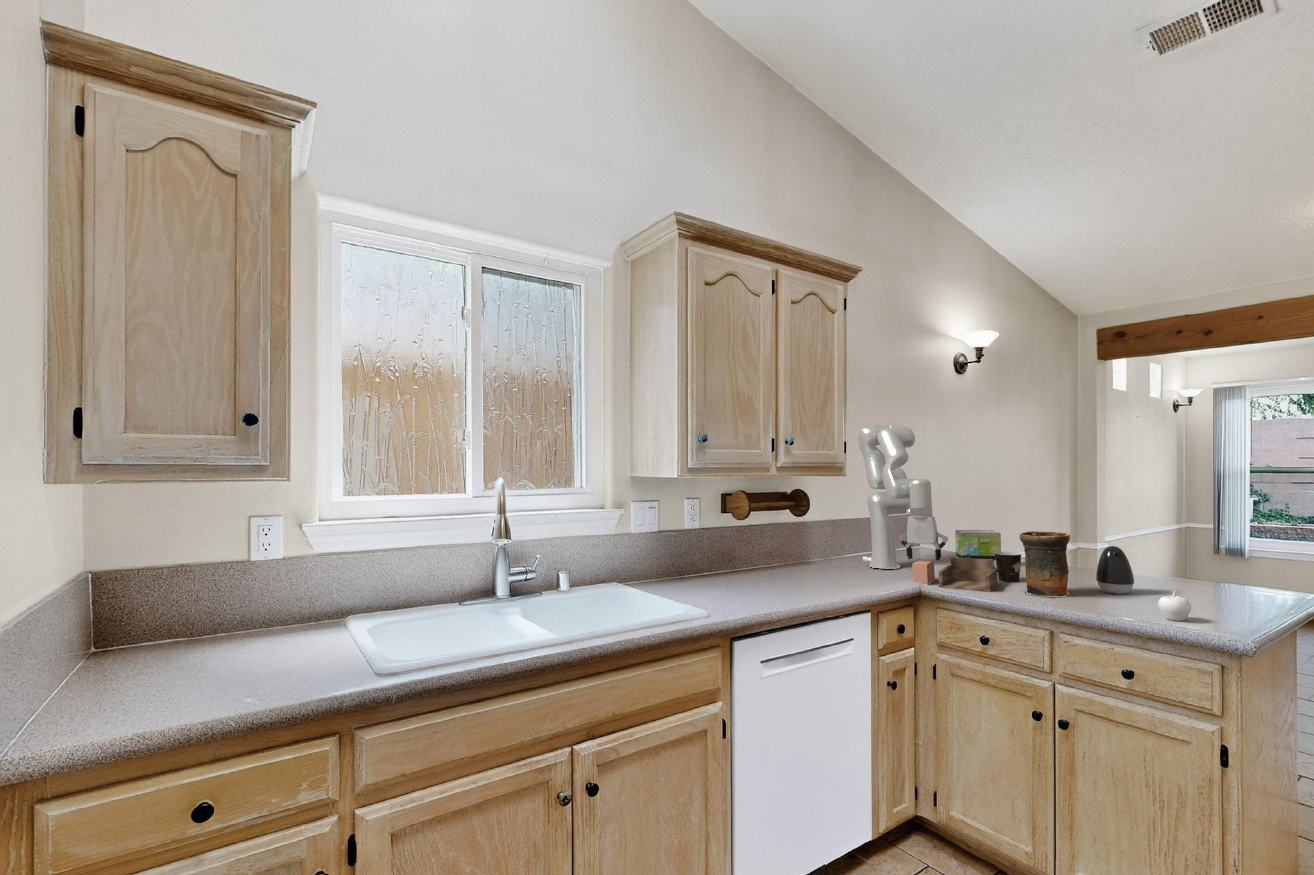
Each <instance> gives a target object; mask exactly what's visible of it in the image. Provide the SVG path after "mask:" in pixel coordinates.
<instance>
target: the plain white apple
mask: <svg viewBox="0 0 1314 875" xmlns="http://www.w3.org/2000/svg"><path fill="white" fill-rule="evenodd" d="M1176 594H1177V593H1176V590H1173V593H1172V595H1165V596H1162V597H1161V598H1159V599H1158V601H1157V605H1158V608H1159V610H1160V612H1161V614H1162V615H1163V617H1164V618H1165V619H1167V620H1168V619H1169V621H1173V620H1175V621H1174V622H1182V621H1185V620H1186V619H1187V618H1188V617H1189V615H1190V613H1191V612H1192V604H1191V603H1190V601H1189V600H1188V598H1185V597H1182V596H1178V595H1176ZM1175 595H1176V596H1175Z"/></svg>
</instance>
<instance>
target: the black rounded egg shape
mask: <svg viewBox="0 0 1314 875" xmlns="http://www.w3.org/2000/svg"><path fill="white" fill-rule="evenodd" d="M1134 577H1135V576H1134V573H1133V570H1132V566H1131V564H1130V561H1129V559H1128V556H1127V554H1126V553H1125V552H1124V551H1123V549H1122V548H1120V547H1118V546H1115V545H1110V546H1107V547H1105V548H1104V549H1103V551H1101V554H1100V556H1099V559H1098V563H1097V567H1096V574H1095V581H1096V582H1097V585H1098V586H1099V588H1100V589H1101V590H1102V591H1104V592H1105V593H1108V594H1112V593H1114V595H1125V594H1128V593H1129V592H1131V590H1132V589H1133V587H1134V584H1135V578H1134Z"/></svg>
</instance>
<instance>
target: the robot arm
mask: <svg viewBox="0 0 1314 875" xmlns="http://www.w3.org/2000/svg"><path fill="white" fill-rule="evenodd" d="M915 442H916V436H915V433H914V431H913V430H912V429H911V428H909V427H908V426H903V425H898V424H894V425H893V424H891V425H889V424H886V425H885V424H883V425H881V424H880V425H867V426H864V427H862V428H860V429H859V431H858V434H857V443H858V447H859V449H860V452H861V454H862V457H863V461H864V466H865V473H866V480H867V483H868V486H869V488H871V489H872V490H885V491H878V492H877V491H876V492H873V493H871V494H870V495H868V497H867V507H868V513H869V518H870V531H871V534H870V535H871V556H863V557H862V561H863V562H866V563H868V562H869V563H868V567H869V566H870V567H872V568H871V569H873V568H886V569H893V568H899V569H901V568H900V567H901V565H900V564H898V563H897V547H896V545H897V544H896V526H895V524H894V521H893V520H892V518H890V516H891V515H905V514H909V515H910V516H908V517H907V522H906V523H907V525H906V526H907V527H906V532H904V533H902V534H900V535H898V536H897V538H898V540H899V541H900V544H902V545H903V546H904V548H905V549H906V550H905V551H906V557H907V558H908V560H911V559H913V557H914V556H913V547H912V545H933V546H934V548H935V550H934V551H935V552H934V555H935V561H936V562H937V561H940V560H941V559H942V548H943V547H945V545H947V544H946V543H947V542H948V540H949V537H948V536H946V535H944V534H942V533H940V532H938V527H937V521H936V517H935V516H933V502H932V501H933V500H932V486H931V485H932V484H931V481H930V480H929V479H923V478H921V479H920V478H908V477H907V473H906V472H905V470H904V469H903V468H901V467H902V466H904V465H906V464H907V462H908V461H909V458H910V457H909V455H908V454H909V453H908V452H907V449H906V448H911V447H913V446H914V444H915ZM877 446H879V447H880V449H879V448H878V447H877ZM905 537H906V539H905ZM939 538H940V539H942V541H941V543H939ZM870 567H869V568H870Z"/></svg>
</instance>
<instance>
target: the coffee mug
mask: <svg viewBox="0 0 1314 875" xmlns="http://www.w3.org/2000/svg"><path fill="white" fill-rule="evenodd" d="M992 560H993V561H994V560H996V564H997V568H995V567H994V569H997V577H998V581H999V582H1002V583H1012V582H1014V583H1020V578H1021V577H1020V574H1021V564H1022V553H1021V552H1017V551H1016V552H1015V551H1001V552H995V558H993V559H992Z"/></svg>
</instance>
